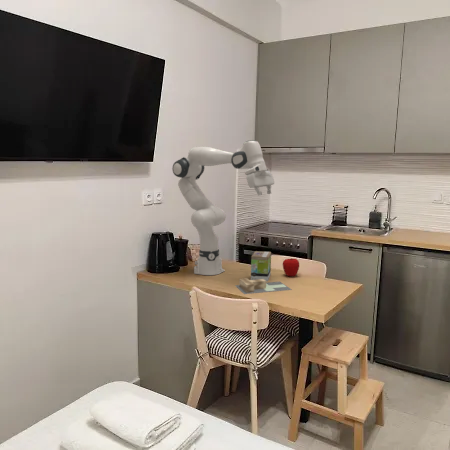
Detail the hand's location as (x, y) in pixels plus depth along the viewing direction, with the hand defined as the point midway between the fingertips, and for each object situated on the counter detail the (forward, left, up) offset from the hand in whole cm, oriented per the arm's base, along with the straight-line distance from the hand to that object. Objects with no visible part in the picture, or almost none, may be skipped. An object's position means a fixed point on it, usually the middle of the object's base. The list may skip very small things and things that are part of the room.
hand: (264, 194), depth 224 cm
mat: (+9, -4, -49) cm, 50 cm away
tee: (+9, -9, -48) cm, 50 cm away
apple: (-11, +21, -49) cm, 54 cm away
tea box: (-10, +2, -49) cm, 50 cm away
